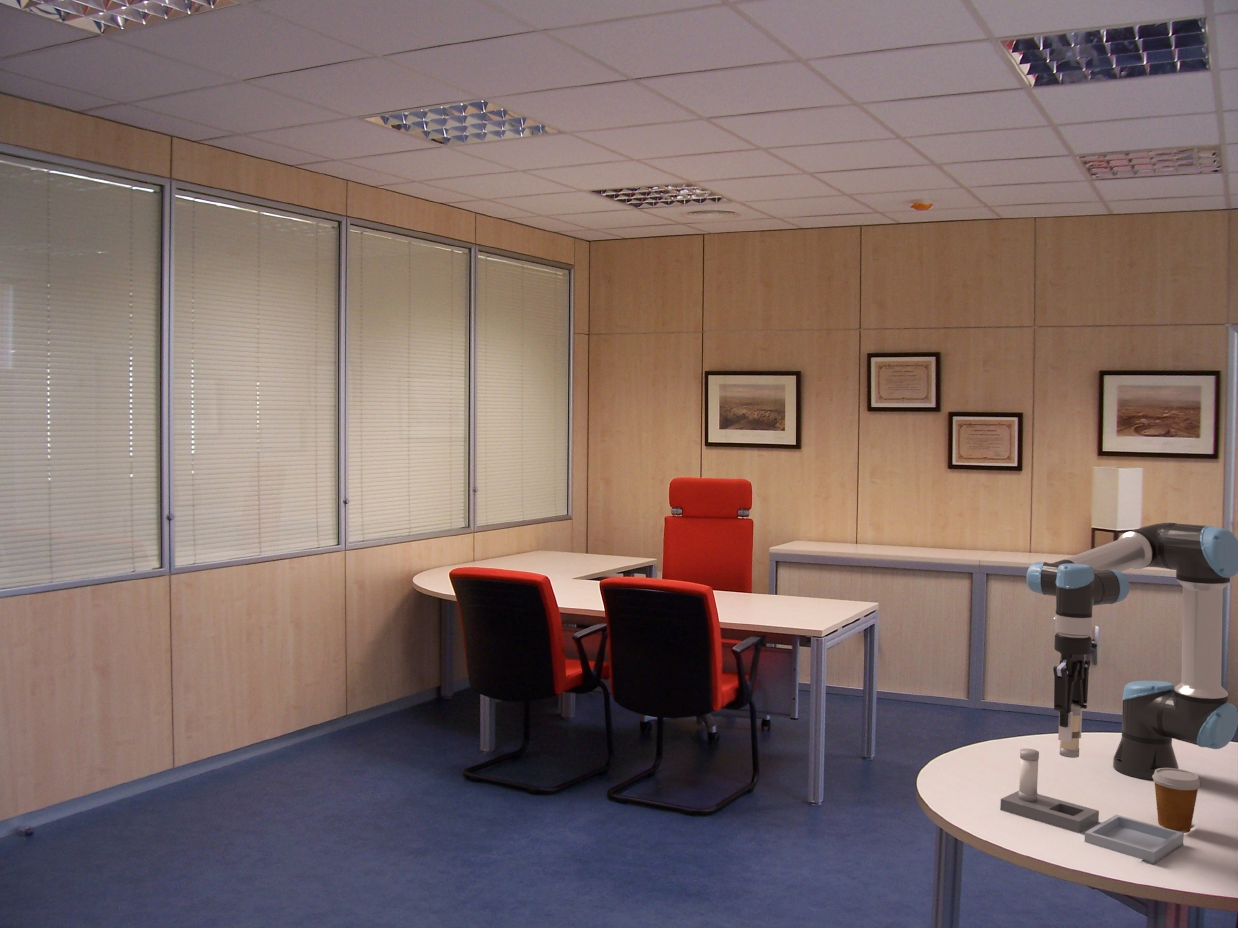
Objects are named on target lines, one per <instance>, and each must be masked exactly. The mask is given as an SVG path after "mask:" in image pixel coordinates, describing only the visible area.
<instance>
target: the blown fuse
mask: <svg viewBox="0 0 1238 928" xmlns="http://www.w3.org/2000/svg"><path fill="white" fill-rule="evenodd" d="M1081 709H1082V708H1081V707H1080V706H1079V705H1075V704H1072V705H1071V712H1072V713H1073V722H1072V742H1071V743H1070V742H1065V741H1061V740H1059V741H1060V744H1059V755H1060V756H1062V757H1064V758H1071V759H1076V758H1080V739H1079V734H1080V730H1079V726H1080V711H1081Z"/></svg>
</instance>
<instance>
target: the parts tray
mask: <svg viewBox="0 0 1238 928" xmlns="http://www.w3.org/2000/svg"><path fill="white" fill-rule="evenodd" d="M1084 843H1086V844H1090V845H1094V846H1098V847H1099V848H1104V849H1107V850H1110V851H1114V852H1116V853H1117V852H1118V853H1120V854H1124V855H1127V856H1131V857H1134V858H1136V859H1137V858H1138V859H1141V862H1143V863H1147V864H1150V865H1153V866H1154V865H1155V864H1157V863H1158V862H1159V861H1161V860H1163V859H1164V858H1166V857H1167V856H1169V855H1170V854H1172V853H1173V852H1175V851H1176V850H1177V849H1179V848H1181V847H1182V846H1184V832H1183V831H1176V830H1171V829H1167V828H1164V827H1162V826H1160V825H1155V824H1153V823H1148V822H1145V821H1141V820H1138V819H1135V818H1134V819H1133V818H1130V817H1127V816H1123V815H1120V814H1114V815H1113V816H1111V817H1110V818H1108V819H1106V820H1105V821H1102V822H1101V823H1100V822H1099V824H1097V825H1094V826H1093V827H1092V828H1090V829H1088V830H1086V831H1084Z"/></svg>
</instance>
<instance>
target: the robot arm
mask: <svg viewBox="0 0 1238 928" xmlns="http://www.w3.org/2000/svg"><path fill="white" fill-rule="evenodd" d="M1145 568H1158V569H1165V570H1170V571H1172V570H1173V571H1175V573H1176V574H1175V581H1177V582H1178V583H1179V584H1180V585H1181V586H1182V611H1181V612H1182V619H1181V620H1182V622H1181V623H1182V625H1181V626H1182V627H1181V679H1180V680H1181V681H1180V683H1178V684H1177V685H1176V686H1175V684H1174V683H1173V682H1172V683H1171V682H1169V681H1164V680H1137V681H1135V680H1134V681H1130V682H1128V683H1126V684H1125V685H1124V688H1123V692H1122V693H1123V694H1122V695H1123V696H1122V698H1121V700H1122V717H1121V718H1122V719H1121V720H1122V721H1121V738H1120V741H1119V743H1118V746H1117V749H1116V751H1115V754H1114V755H1113V760H1112V763H1113V765H1112V766H1113V768H1114V770H1115V771H1117V772H1119V773H1120V774H1124V775H1127V776H1129V777H1134V778H1138V779H1143V780H1144V779H1145V780H1151V781H1154V780H1153V778H1152V775H1153V774H1154V772H1155V770H1156V769H1159V768H1175V769H1180V768H1179V764H1178V761H1177V756H1176V755H1175V750H1174V747H1173V740H1177V741H1180V742H1185V743H1188V744H1192V745H1195V746H1197V747H1200V748H1208V749H1212V750H1220V749H1223V748H1225V747H1226V746H1227V745H1229V743H1230V742H1231V741H1232V739H1233V738H1234V736H1235V735H1236V732H1237V729H1238V710H1237V709H1238V708H1237V707H1236V706H1235V705H1234V704H1233V703H1232V702H1231V703H1230V702H1229V693H1228V691H1227V690H1226V689H1225V688H1224V687H1223V686H1222V657H1223V655H1222V654H1223V651H1222V650H1223V649H1222V647H1223V606H1224V605H1223V601H1224V600H1223V597H1224V589H1225V587H1227V586H1228V585H1229V584H1231V578H1233V577H1235V576H1236V575H1237V574H1238V538H1237V536H1235V534H1234V533H1233V532H1232V531H1231V530H1229V529H1227V528H1223V527H1218V526H1217V527H1216V526H1213V525H1203V524H1190V523H1188V524H1187V523H1177V522H1160V523H1155V524H1150V525H1146V526H1143V527H1139V528H1135V529H1133V530H1130V531H1127V532H1123V533H1122V534H1121V535H1120V536H1119V537H1118V538H1117V540H1114V541H1111V542H1108V543H1106V544H1103V545H1100V546H1098V547H1095V548H1091V549H1089V550H1086V551H1084V552H1081V553H1078V554H1075V555H1071V556H1069V557H1067V558H1064V559H1060V560H1057V561H1055V562H1047V561H1035V562H1034V563H1031V564H1030V566H1029V567H1028V569H1027V572H1026V585H1027V587H1028V588H1029V589H1030V591H1031V592H1033V593H1037V594H1040V595H1043V596H1050V597H1055V616H1054V617H1053V620H1054V621H1055V623H1054V624H1055V626H1054V631H1055V632H1056V633H1055V634H1054V648H1053V649H1054V651H1056V652H1058V653H1060V659H1059V665H1058V666H1057V665H1053V675H1054V676H1053V677H1054V678H1053V680H1054V683H1053V685H1054V687H1053V692H1054V694H1053V696H1054V697H1053V709H1054V711H1058V734H1057V735H1058V736H1057V738H1058V739H1057V741H1060V740H1061V741H1065V742H1070V743H1071V742H1072V722H1073V713H1072V712H1071V705H1072V704H1075V705H1079V706H1080V707H1081V711H1080V726H1079V730H1080V734H1079V740H1080V739H1081V738H1082V727H1083V726H1082V724H1083V722H1082V720H1083V709H1085V710H1087V708H1088V705H1087V704H1088V697H1089V696H1088V694H1089V692H1088V691H1089V675H1090V666H1091V659H1086V658H1085V657H1086V655H1088V654H1091V653H1092V639H1093V638H1092V637H1091V636H1090V635H1092V634H1093V607H1094V606H1100V605H1113V604H1117V603H1121V602H1122V601H1124V600H1125V599H1126V598H1127V597H1128V595H1129V593H1130V582H1129V580H1128V577H1127V576H1126V575H1125V574H1124V573H1123V572H1125V571H1127V570H1130V569H1131V570H1142V569H1145Z"/></svg>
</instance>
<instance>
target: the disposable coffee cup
mask: <svg viewBox="0 0 1238 928" xmlns="http://www.w3.org/2000/svg"><path fill="white" fill-rule="evenodd" d="M1199 777H1200V776H1198V775H1197V774H1195V773H1194V772H1192V771H1188V770H1185V769H1182V768H1179V769H1175V768H1159V769H1156V770H1155V772H1154V774H1153V775H1152V778H1153V780H1152V781H1153V782H1154V790H1155V792H1154V793H1155V800H1156V812H1157V822H1158V826H1160V827H1164V828H1167V829H1171V830H1174V831H1178V832H1183V833H1189V832H1191V828H1192V823H1193V819H1194V818H1193V817H1194V811H1195V806H1196V802H1197V797H1198V791H1199V789H1200V786H1201V781H1200V778H1199Z"/></svg>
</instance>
